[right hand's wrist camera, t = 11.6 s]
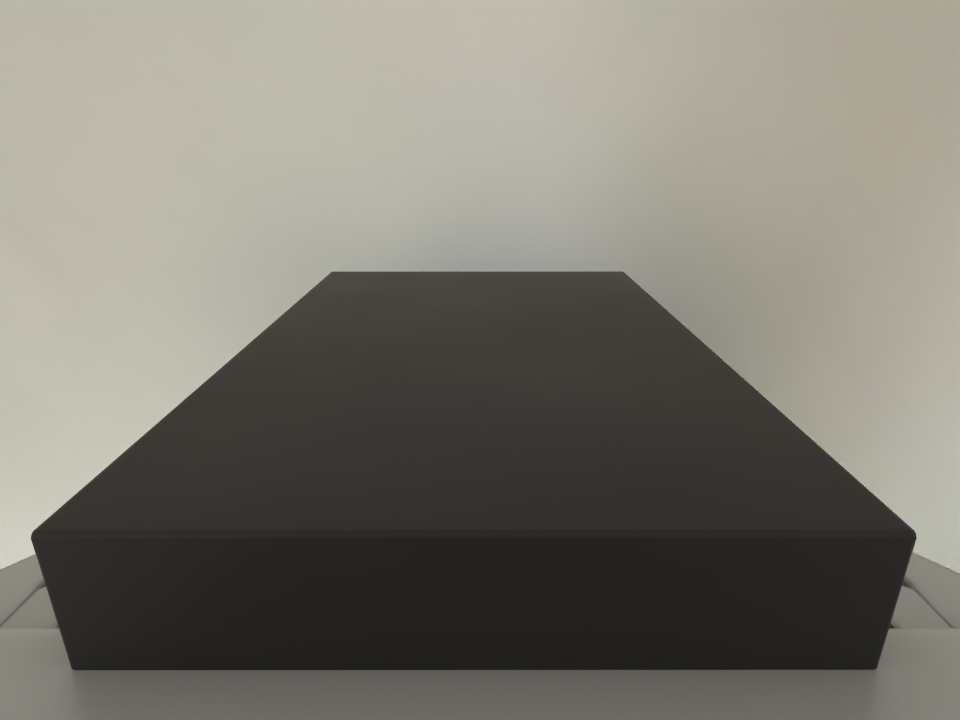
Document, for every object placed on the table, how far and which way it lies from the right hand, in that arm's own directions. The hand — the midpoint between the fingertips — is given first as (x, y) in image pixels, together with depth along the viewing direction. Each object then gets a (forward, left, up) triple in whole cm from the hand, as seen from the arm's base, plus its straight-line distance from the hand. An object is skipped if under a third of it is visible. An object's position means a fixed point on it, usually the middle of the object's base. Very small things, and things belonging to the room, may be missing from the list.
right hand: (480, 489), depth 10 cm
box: (-1, +8, -4) cm, 9 cm away
